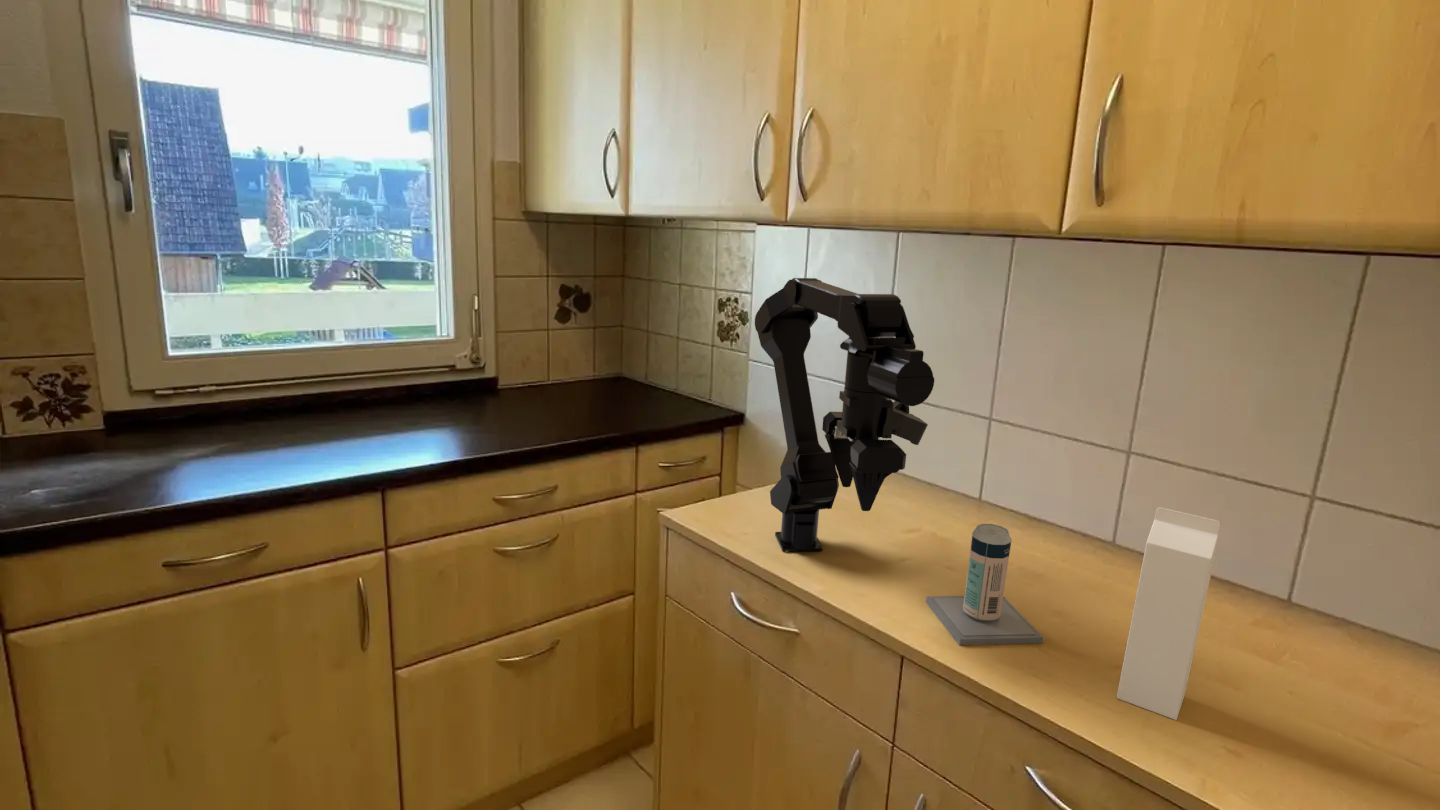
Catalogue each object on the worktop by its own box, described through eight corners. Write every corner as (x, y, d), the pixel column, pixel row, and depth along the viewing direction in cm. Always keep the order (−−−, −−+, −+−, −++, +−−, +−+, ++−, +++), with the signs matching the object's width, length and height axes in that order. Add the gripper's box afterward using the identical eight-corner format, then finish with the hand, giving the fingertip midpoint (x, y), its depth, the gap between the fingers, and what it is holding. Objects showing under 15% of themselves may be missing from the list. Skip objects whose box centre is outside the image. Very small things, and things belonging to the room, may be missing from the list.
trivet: (925, 601, 106) (926, 595, 106) (1001, 600, 108) (1002, 594, 108) (959, 645, 96) (960, 638, 96) (1042, 643, 97) (1043, 636, 97)
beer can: (1003, 612, 103) (1016, 528, 100) (995, 627, 99) (1008, 540, 96) (967, 602, 105) (978, 519, 102) (957, 616, 101) (968, 530, 98)
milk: (1126, 676, 91) (1160, 498, 86) (1185, 696, 88) (1224, 513, 82) (1115, 699, 86) (1150, 513, 81) (1177, 722, 83) (1218, 529, 78)
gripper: (952, 406, 96) (937, 524, 99) (899, 375, 114) (889, 476, 117) (864, 404, 94) (853, 524, 98) (825, 373, 112) (817, 475, 116)
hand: (855, 498), depth 107 cm, fingers open, 9 cm apart
